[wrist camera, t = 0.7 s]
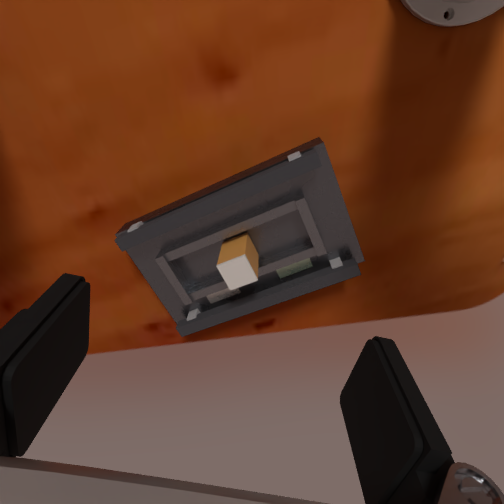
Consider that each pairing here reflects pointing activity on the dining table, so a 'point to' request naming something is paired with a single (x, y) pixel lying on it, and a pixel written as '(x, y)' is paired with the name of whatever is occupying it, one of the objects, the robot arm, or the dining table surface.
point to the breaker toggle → (238, 261)
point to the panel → (260, 232)
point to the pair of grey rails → (220, 200)
